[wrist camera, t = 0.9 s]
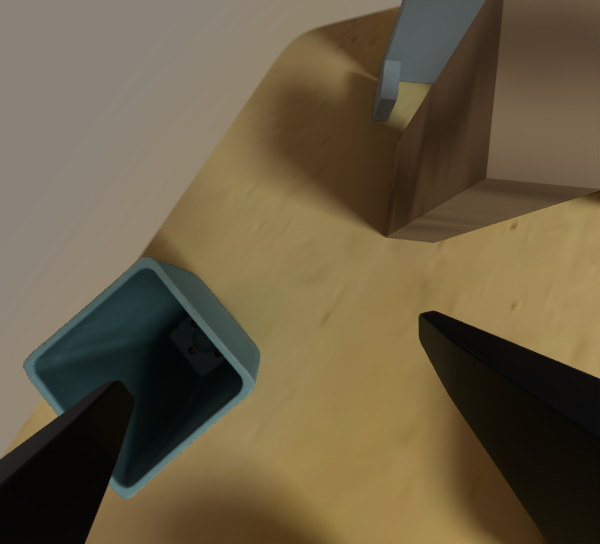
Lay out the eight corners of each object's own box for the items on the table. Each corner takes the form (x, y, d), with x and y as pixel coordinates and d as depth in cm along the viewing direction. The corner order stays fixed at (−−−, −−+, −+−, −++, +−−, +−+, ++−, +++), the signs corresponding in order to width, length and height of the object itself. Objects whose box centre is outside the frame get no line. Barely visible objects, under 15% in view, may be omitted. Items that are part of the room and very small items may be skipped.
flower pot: (214, 263, 21) (145, 251, 12) (281, 341, 21) (258, 387, 12) (138, 330, 22) (15, 365, 13) (203, 410, 21) (122, 506, 12)
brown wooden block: (433, 242, 21) (603, 189, 9) (385, 237, 21) (486, 177, 9) (443, 149, 21) (621, -28, 9) (396, 144, 21) (507, -35, 9)
